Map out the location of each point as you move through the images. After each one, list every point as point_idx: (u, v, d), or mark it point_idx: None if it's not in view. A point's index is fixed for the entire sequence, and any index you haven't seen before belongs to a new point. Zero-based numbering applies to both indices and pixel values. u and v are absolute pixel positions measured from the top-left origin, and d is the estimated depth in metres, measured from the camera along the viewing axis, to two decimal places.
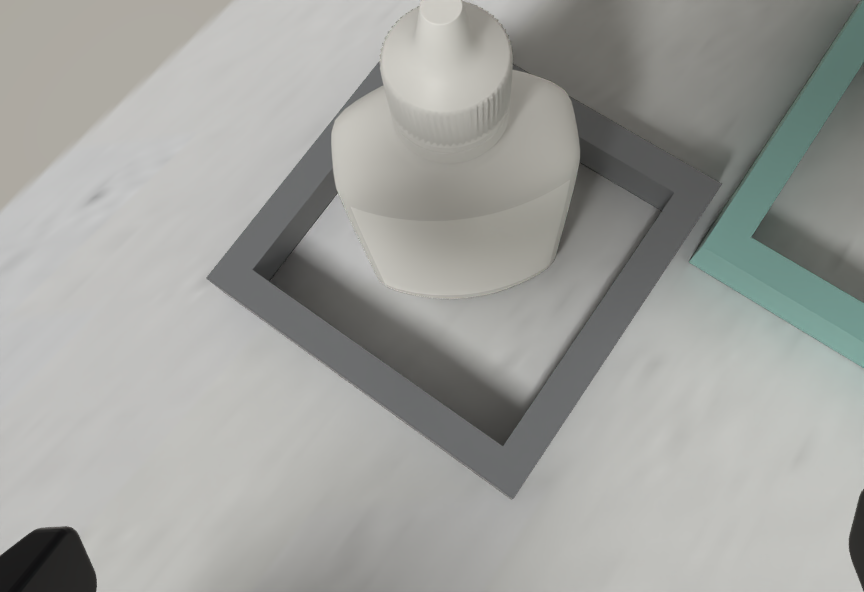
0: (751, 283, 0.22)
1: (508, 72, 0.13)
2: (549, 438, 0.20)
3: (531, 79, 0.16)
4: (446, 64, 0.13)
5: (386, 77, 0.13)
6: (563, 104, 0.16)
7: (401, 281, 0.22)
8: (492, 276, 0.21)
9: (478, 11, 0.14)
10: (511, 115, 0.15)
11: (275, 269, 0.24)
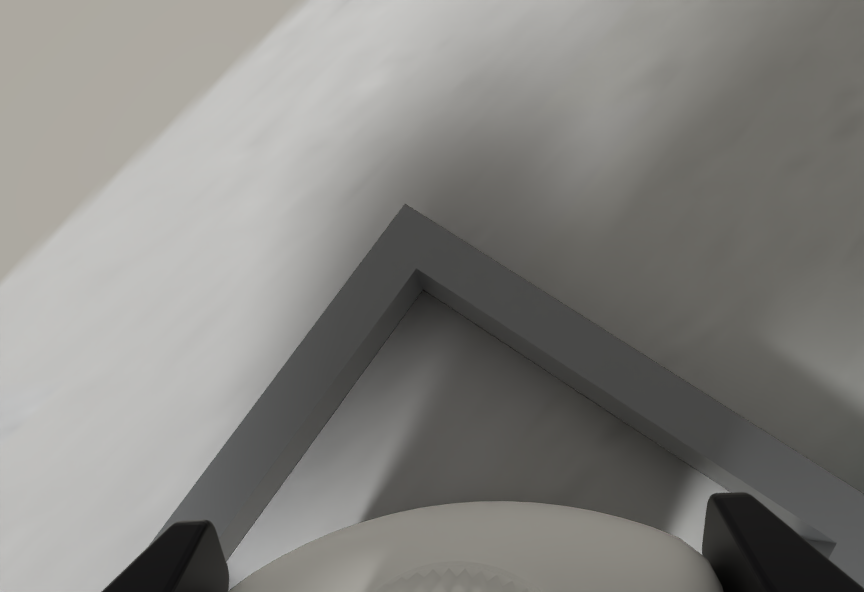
0: None
1: None
2: None
3: (641, 575, 0.07)
4: None
5: None
6: None
7: None
8: None
9: None
10: None
11: None
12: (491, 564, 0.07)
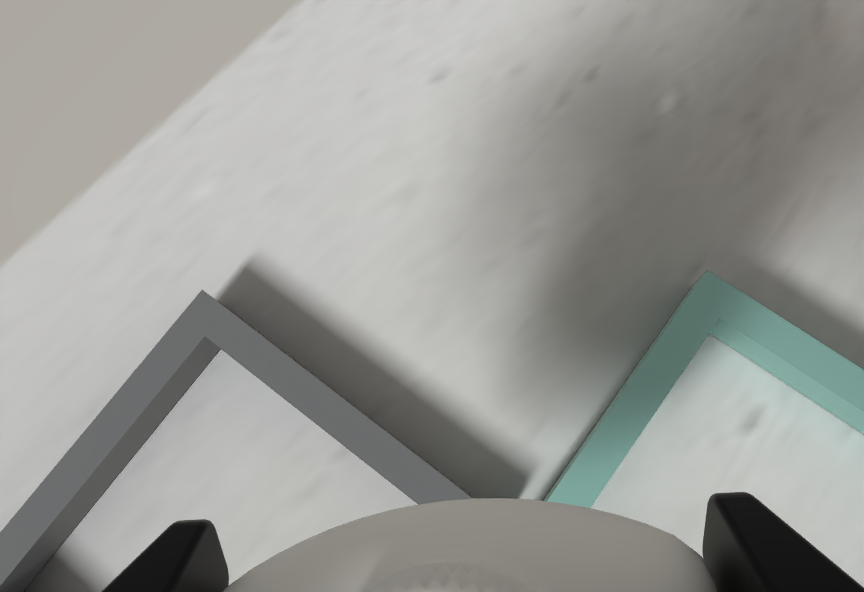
0: None
1: None
2: None
3: (636, 571, 0.07)
4: None
5: None
6: None
7: None
8: None
9: None
10: None
11: (31, 577, 0.22)
12: (487, 560, 0.07)
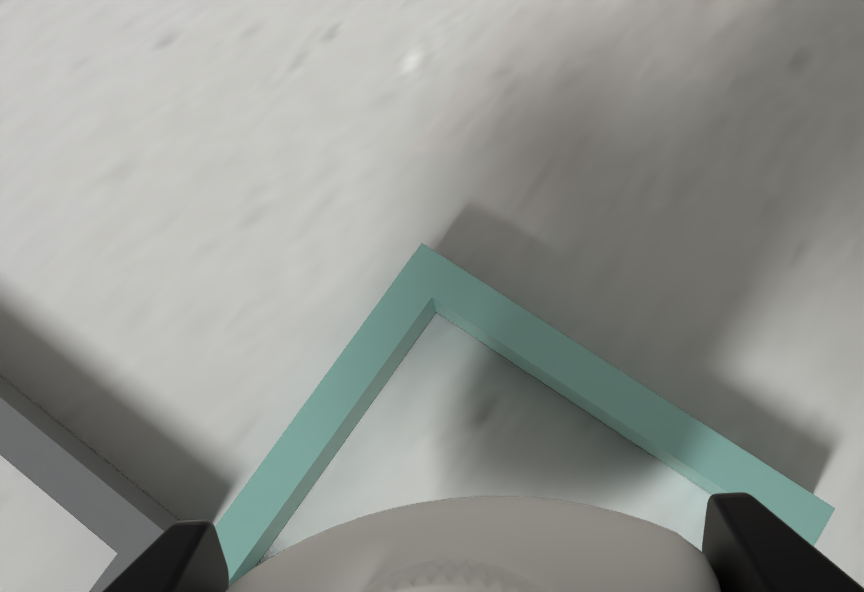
0: None
1: None
2: None
3: (640, 568, 0.07)
4: None
5: None
6: None
7: None
8: None
9: None
10: None
11: None
12: (491, 557, 0.07)
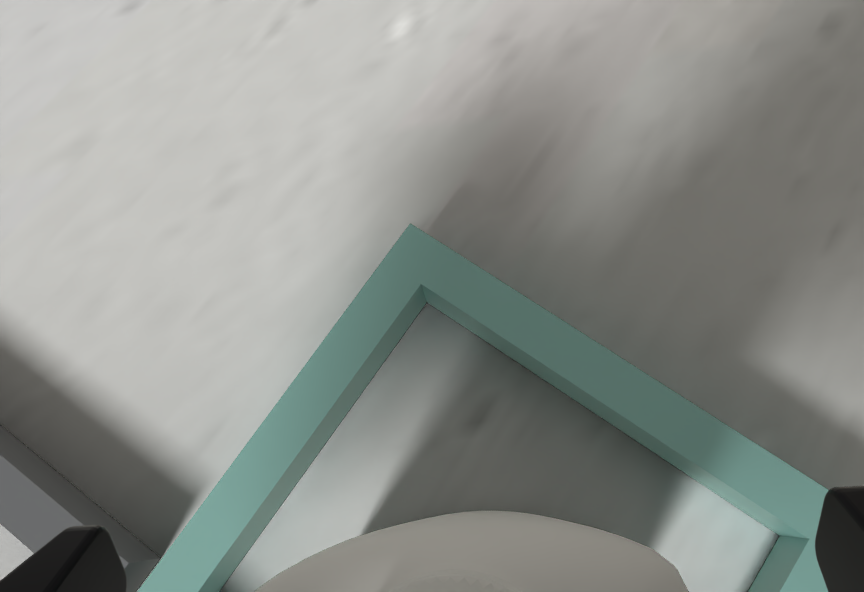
0: None
1: None
2: None
3: (617, 583, 0.08)
4: None
5: None
6: None
7: None
8: None
9: None
10: None
11: None
12: (486, 572, 0.08)
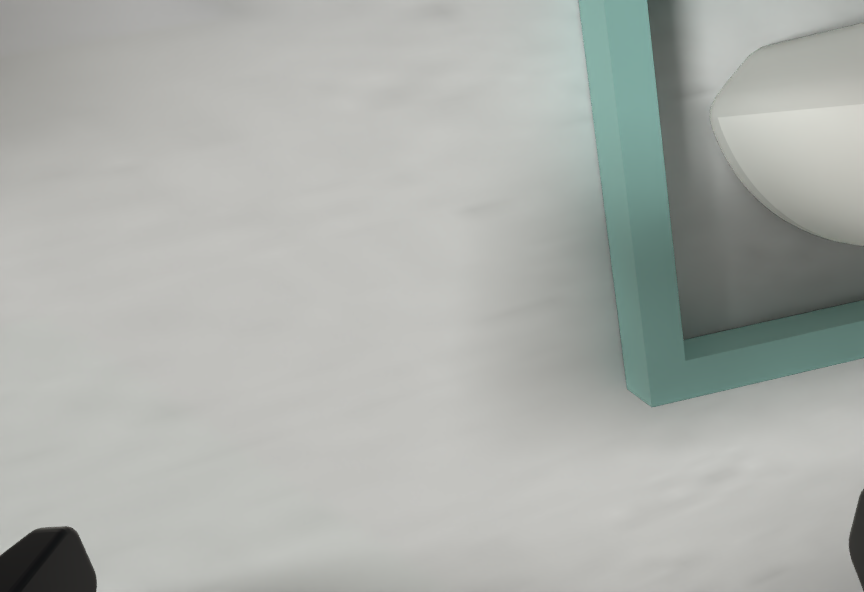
0: (598, 23, 0.17)
1: None
2: None
3: None
4: None
5: None
6: None
7: (749, 140, 0.17)
8: (824, 222, 0.18)
9: None
10: None
11: None
12: None
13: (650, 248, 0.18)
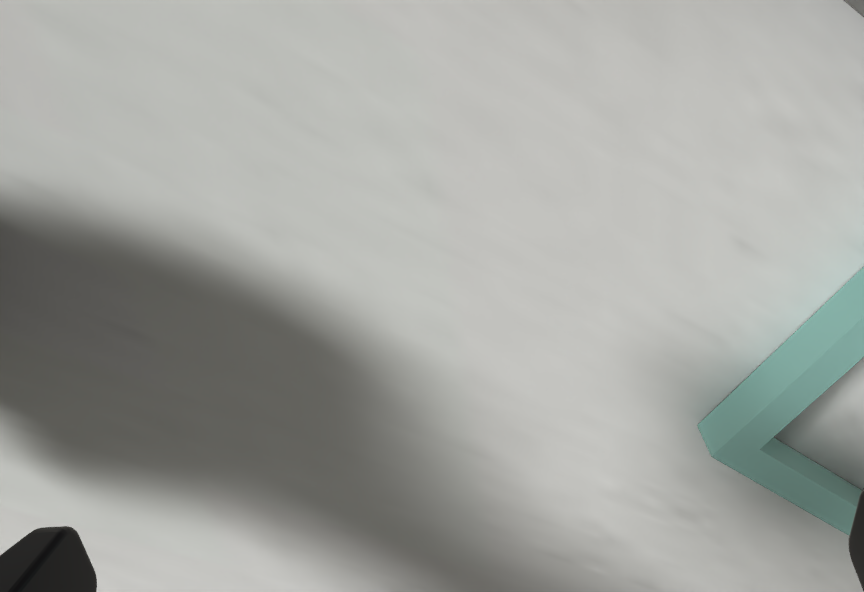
0: None
1: None
2: None
3: None
4: None
5: None
6: None
7: None
8: None
9: None
10: None
11: None
12: None
13: (819, 374, 0.21)
